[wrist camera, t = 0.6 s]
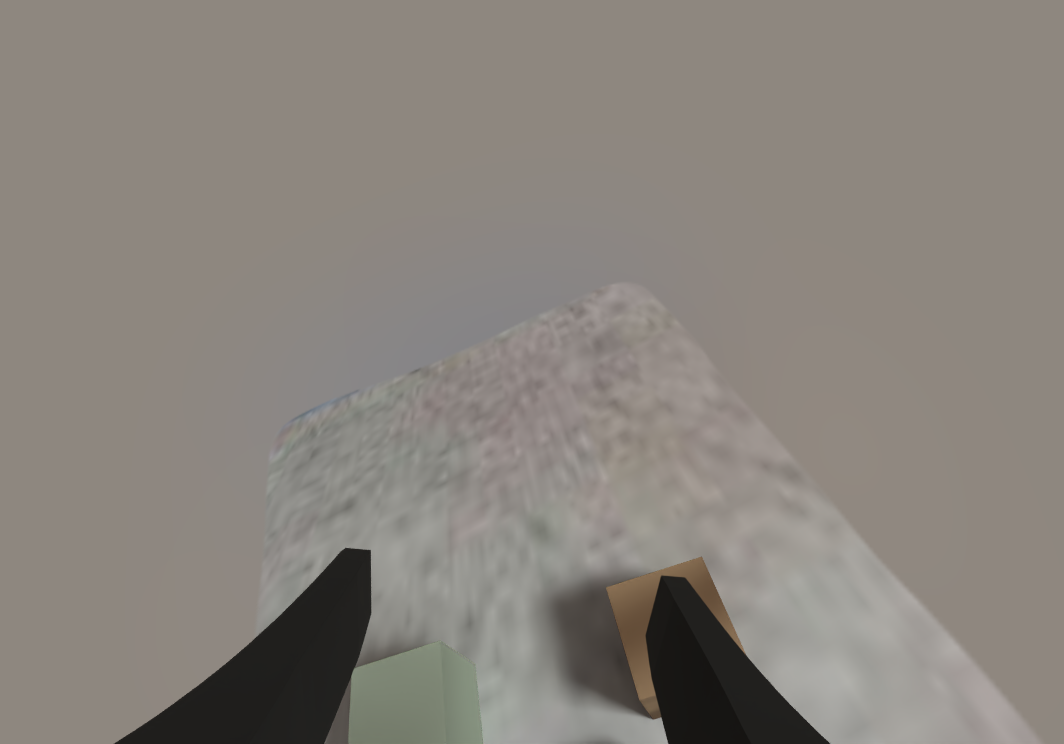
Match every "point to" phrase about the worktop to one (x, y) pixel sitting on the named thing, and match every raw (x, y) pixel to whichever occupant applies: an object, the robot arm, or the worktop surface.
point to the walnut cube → (635, 610)
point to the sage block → (416, 699)
